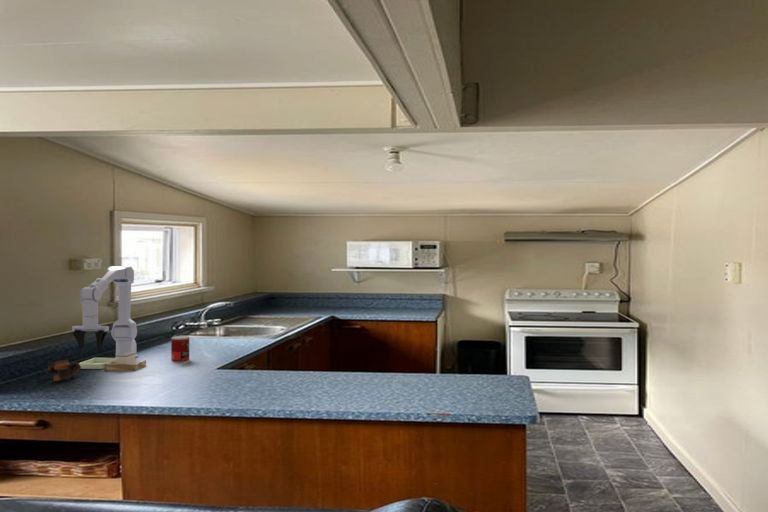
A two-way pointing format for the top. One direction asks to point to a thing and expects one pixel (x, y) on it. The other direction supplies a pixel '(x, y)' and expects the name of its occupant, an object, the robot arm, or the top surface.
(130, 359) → the grey box
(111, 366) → the dock
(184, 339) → the canned food
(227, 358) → the top surface
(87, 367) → the tray
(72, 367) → the toy turtle
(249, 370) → the top surface
